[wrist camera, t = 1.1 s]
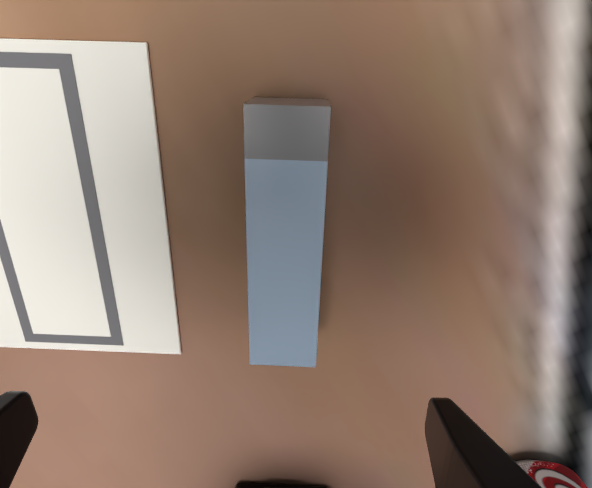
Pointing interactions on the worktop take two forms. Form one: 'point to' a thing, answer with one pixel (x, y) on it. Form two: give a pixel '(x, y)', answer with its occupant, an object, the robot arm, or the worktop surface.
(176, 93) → the worktop surface
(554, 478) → the soda can
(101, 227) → the paper sheet
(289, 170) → the rectangular block
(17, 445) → the robot arm
